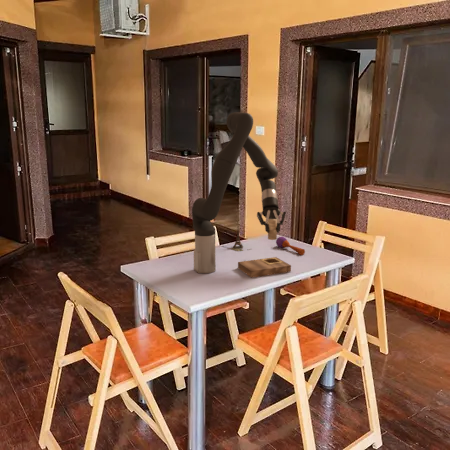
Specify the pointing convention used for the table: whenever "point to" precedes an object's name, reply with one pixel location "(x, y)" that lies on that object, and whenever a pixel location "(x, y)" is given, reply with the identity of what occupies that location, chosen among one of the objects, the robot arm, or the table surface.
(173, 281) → the table surface
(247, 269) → the pin board
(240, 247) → the eiffel tower figurine
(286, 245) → the maraca
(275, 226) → the pin
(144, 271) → the table surface
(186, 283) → the table surface
